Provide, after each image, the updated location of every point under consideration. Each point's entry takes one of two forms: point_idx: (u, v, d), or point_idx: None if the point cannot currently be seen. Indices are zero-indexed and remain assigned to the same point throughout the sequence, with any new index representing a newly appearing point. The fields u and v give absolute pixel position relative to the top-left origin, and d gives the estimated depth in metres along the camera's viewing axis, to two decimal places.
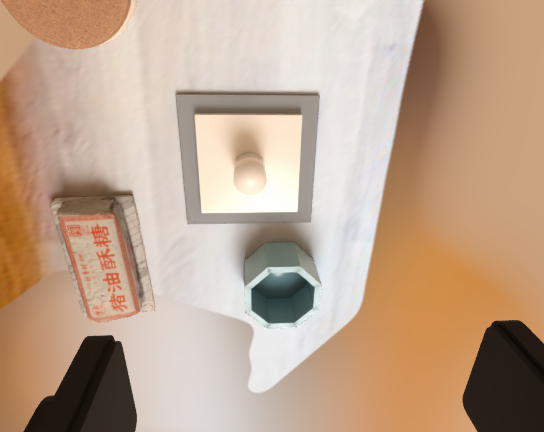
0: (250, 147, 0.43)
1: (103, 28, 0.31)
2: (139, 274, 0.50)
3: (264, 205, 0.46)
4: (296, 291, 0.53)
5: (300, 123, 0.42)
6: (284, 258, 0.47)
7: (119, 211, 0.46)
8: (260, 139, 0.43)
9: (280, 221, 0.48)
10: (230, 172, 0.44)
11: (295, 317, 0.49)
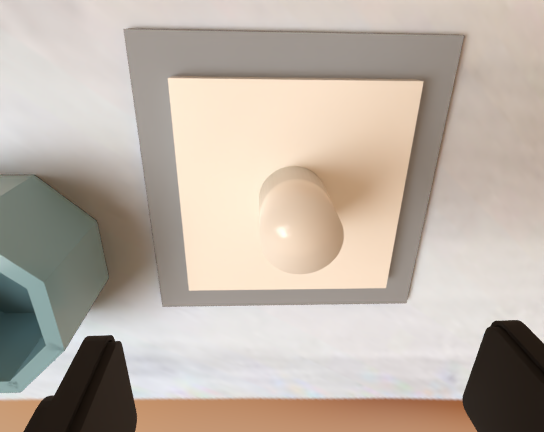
0: (335, 200, 0.20)
1: None
2: None
3: (199, 228, 0.20)
4: None
5: (371, 286, 0.23)
6: (74, 296, 0.19)
7: None
8: (349, 219, 0.21)
9: (157, 253, 0.22)
10: (281, 157, 0.19)
11: None
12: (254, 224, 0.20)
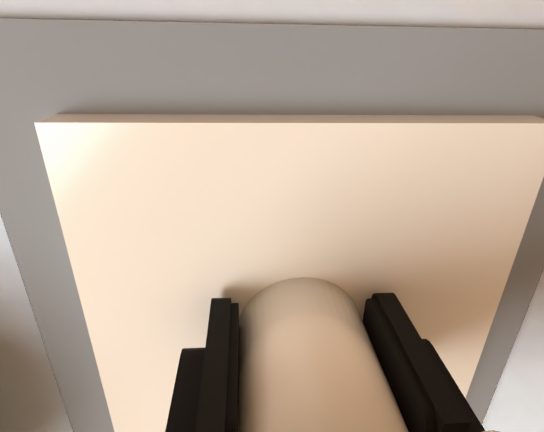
0: None
1: None
2: None
3: (132, 379, 0.11)
4: None
5: None
6: None
7: None
8: None
9: (68, 403, 0.13)
10: (277, 265, 0.10)
11: None
12: None
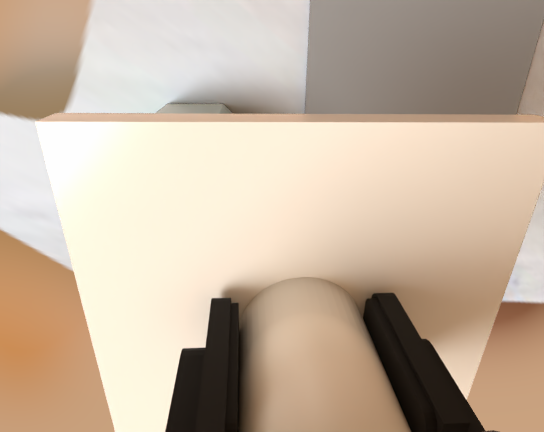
0: None
1: None
2: None
3: (133, 379, 0.11)
4: None
5: None
6: None
7: None
8: None
9: None
10: (279, 264, 0.10)
11: None
12: None
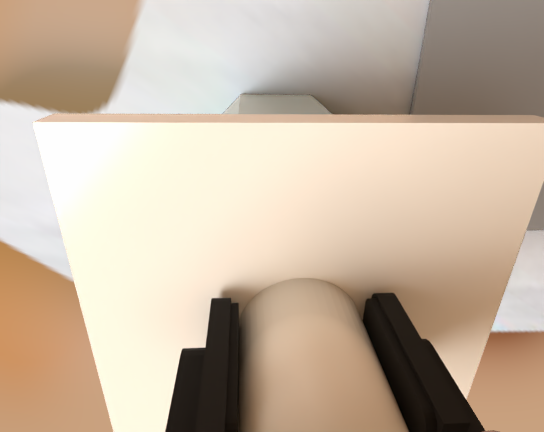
0: None
1: None
2: None
3: (132, 380, 0.11)
4: None
5: None
6: None
7: None
8: None
9: None
10: (277, 265, 0.10)
11: None
12: None
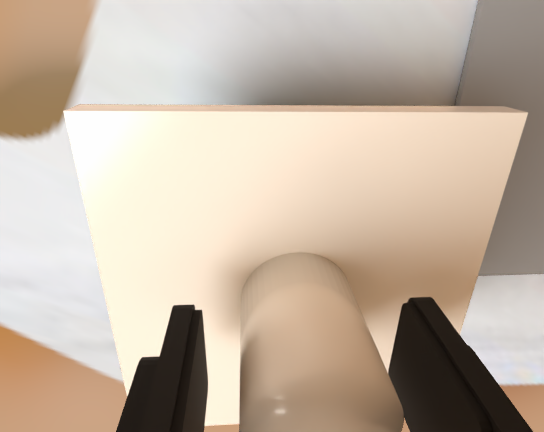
0: (364, 300, 0.12)
1: None
2: None
3: (144, 347, 0.13)
4: None
5: None
6: None
7: None
8: (387, 326, 0.13)
9: None
10: (276, 241, 0.11)
11: None
12: (233, 338, 0.13)
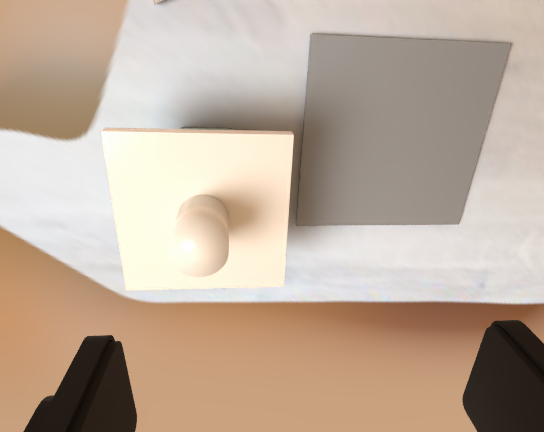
0: (236, 220, 0.26)
1: None
2: None
3: (132, 242, 0.26)
4: None
5: (272, 284, 0.29)
6: None
7: None
8: (249, 234, 0.27)
9: (301, 185, 0.33)
10: (191, 188, 0.25)
11: None
12: None
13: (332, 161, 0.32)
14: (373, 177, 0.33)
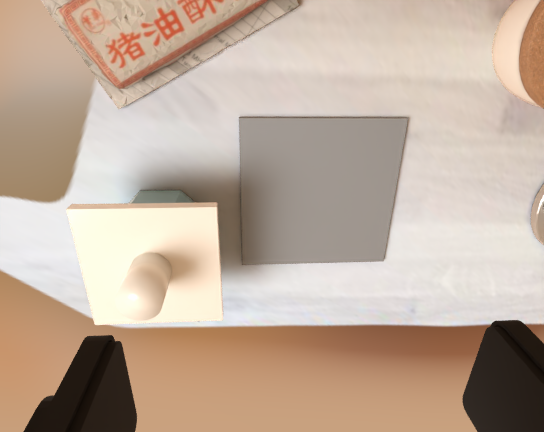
0: (178, 270, 0.33)
1: (541, 80, 0.27)
2: (173, 62, 0.31)
3: (96, 288, 0.33)
4: None
5: (213, 319, 0.36)
6: None
7: None
8: (190, 280, 0.34)
9: (243, 232, 0.39)
10: (140, 248, 0.32)
11: None
12: None
13: (267, 214, 0.39)
14: (303, 225, 0.39)
